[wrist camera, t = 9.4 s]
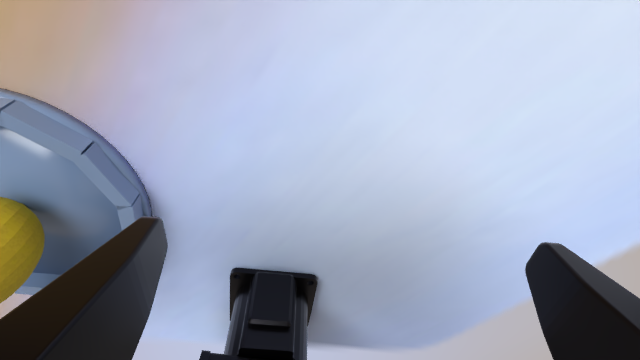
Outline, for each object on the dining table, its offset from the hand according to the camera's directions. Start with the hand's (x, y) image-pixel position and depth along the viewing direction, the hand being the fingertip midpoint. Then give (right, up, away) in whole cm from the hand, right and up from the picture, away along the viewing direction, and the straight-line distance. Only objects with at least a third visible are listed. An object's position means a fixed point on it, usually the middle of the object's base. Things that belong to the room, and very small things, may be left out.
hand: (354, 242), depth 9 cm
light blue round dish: (-19, 0, +15) cm, 24 cm away
